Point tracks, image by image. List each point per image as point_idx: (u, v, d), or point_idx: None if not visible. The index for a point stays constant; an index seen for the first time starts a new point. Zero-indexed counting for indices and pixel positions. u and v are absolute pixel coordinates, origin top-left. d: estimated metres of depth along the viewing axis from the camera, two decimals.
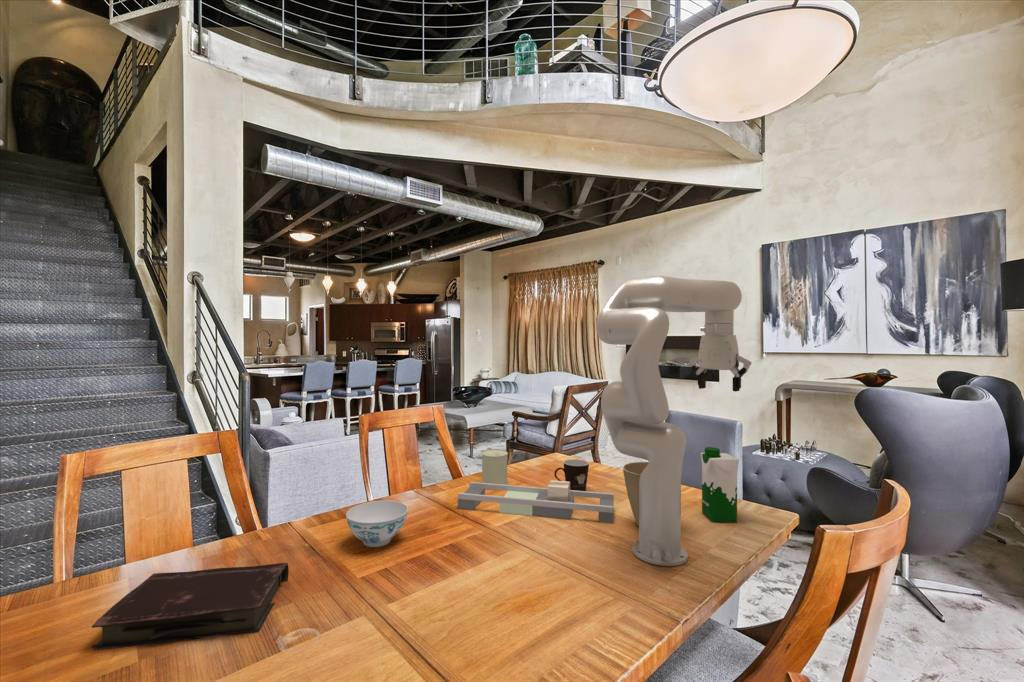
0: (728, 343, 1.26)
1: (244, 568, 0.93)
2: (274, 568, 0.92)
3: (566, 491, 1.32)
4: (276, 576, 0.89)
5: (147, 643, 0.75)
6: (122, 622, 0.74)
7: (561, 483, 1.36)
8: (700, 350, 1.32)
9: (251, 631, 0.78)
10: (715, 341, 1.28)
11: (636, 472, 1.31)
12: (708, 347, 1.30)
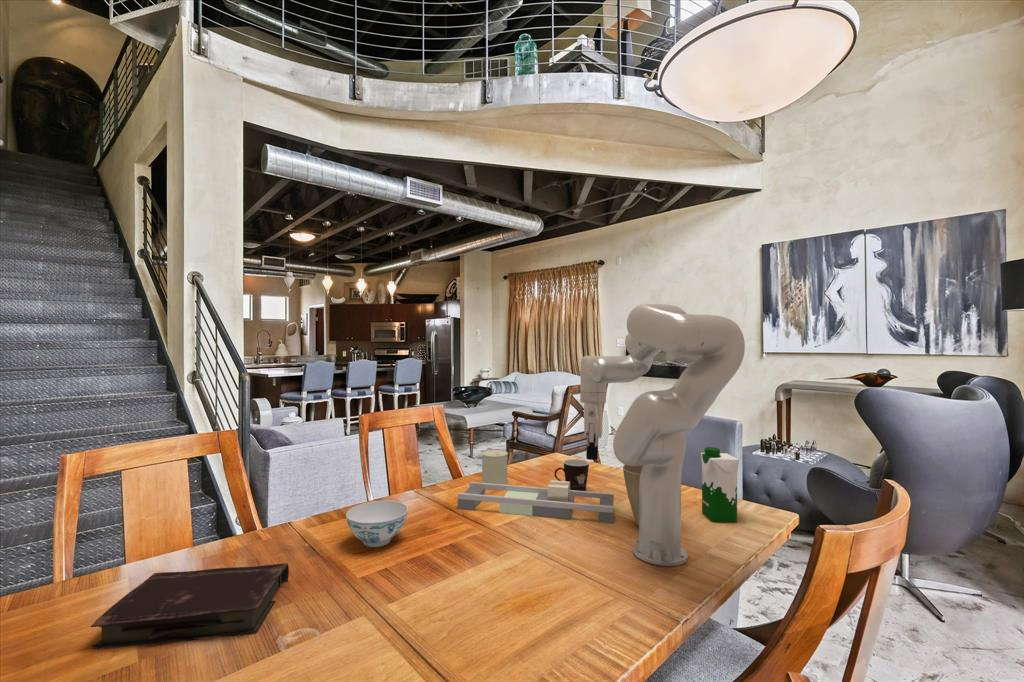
0: None
1: (244, 568, 0.92)
2: (274, 569, 0.92)
3: (566, 491, 1.32)
4: (275, 577, 0.88)
5: (145, 643, 0.75)
6: (121, 622, 0.74)
7: (561, 483, 1.36)
8: (600, 420, 1.29)
9: (249, 632, 0.78)
10: None
11: (636, 472, 1.31)
12: None
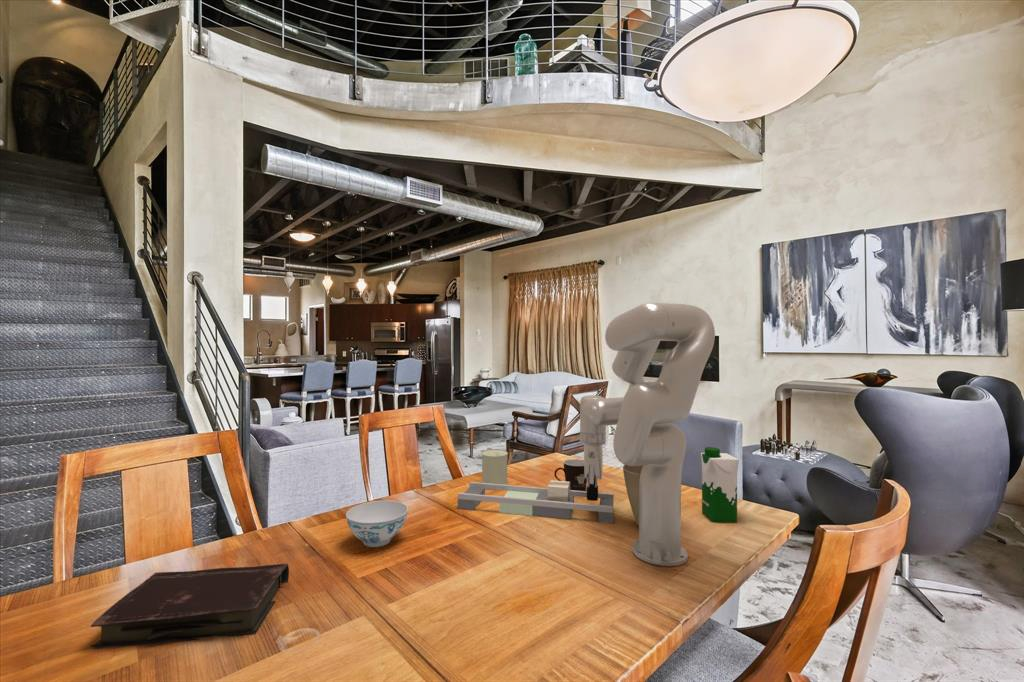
0: None
1: (244, 568, 0.92)
2: (274, 569, 0.92)
3: (566, 491, 1.32)
4: (275, 577, 0.88)
5: (145, 643, 0.75)
6: (120, 622, 0.74)
7: (561, 483, 1.36)
8: (600, 461, 1.29)
9: (248, 633, 0.78)
10: None
11: (636, 472, 1.31)
12: None
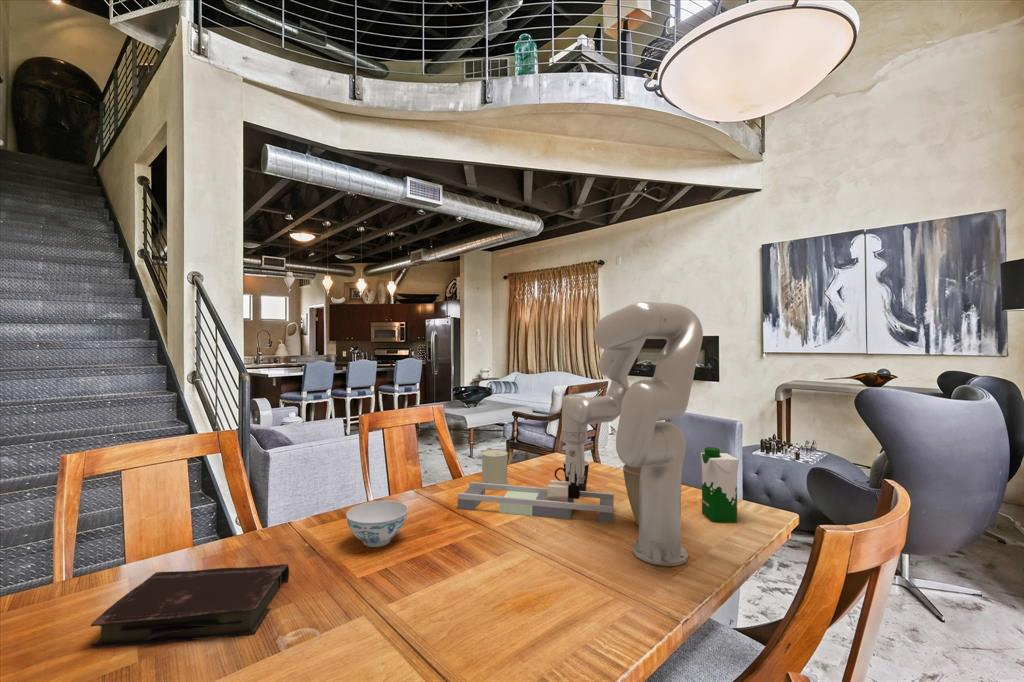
0: None
1: (245, 569, 0.92)
2: (274, 569, 0.92)
3: (566, 491, 1.32)
4: (275, 578, 0.88)
5: (144, 643, 0.75)
6: (120, 621, 0.74)
7: (560, 483, 1.36)
8: (581, 460, 1.30)
9: (247, 634, 0.78)
10: (583, 447, 1.34)
11: (636, 472, 1.31)
12: (583, 455, 1.32)
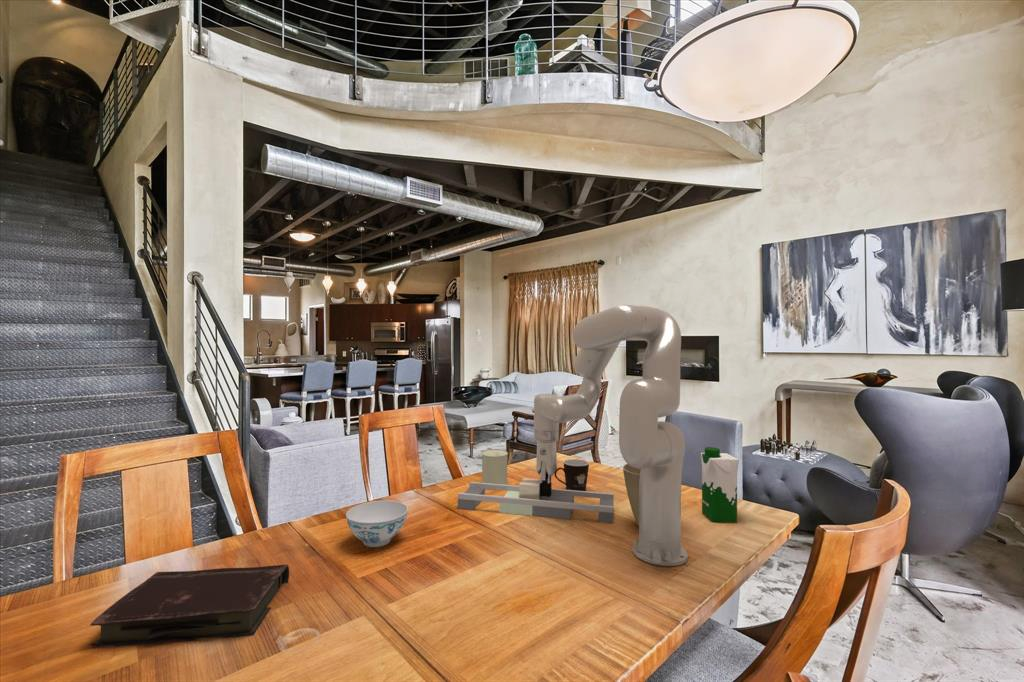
0: None
1: (245, 569, 0.92)
2: (274, 570, 0.92)
3: (537, 489, 1.34)
4: (275, 578, 0.88)
5: (143, 643, 0.75)
6: (119, 621, 0.75)
7: (533, 481, 1.38)
8: (552, 458, 1.32)
9: (246, 634, 0.77)
10: (555, 446, 1.36)
11: (636, 472, 1.31)
12: (554, 453, 1.34)
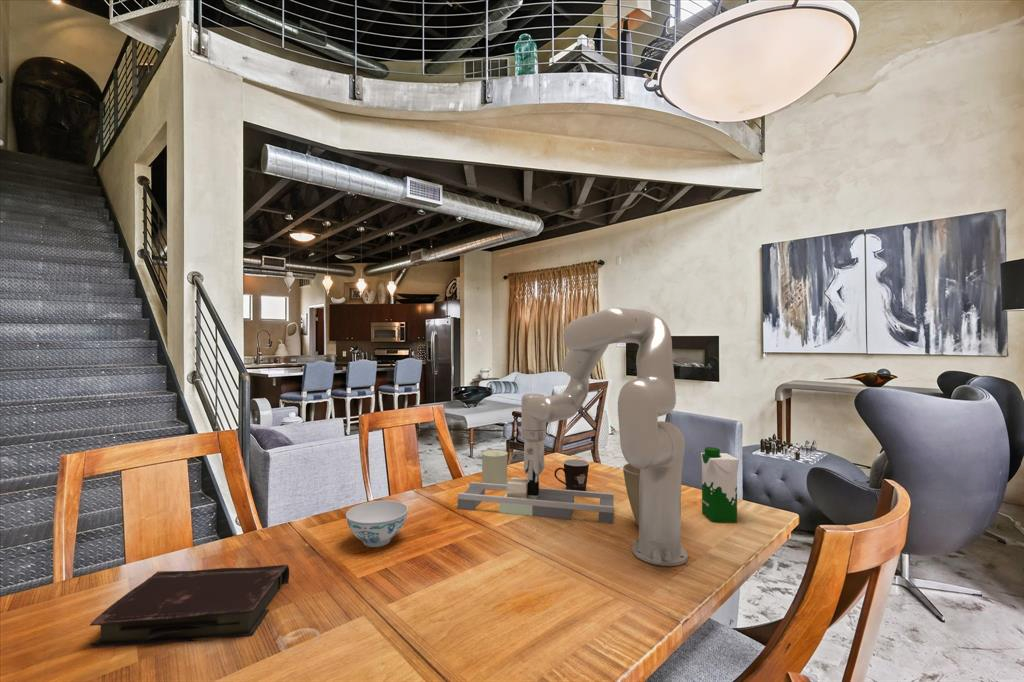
0: (543, 444, 1.40)
1: (245, 569, 0.92)
2: (274, 570, 0.91)
3: (524, 488, 1.35)
4: (274, 579, 0.88)
5: (143, 643, 0.75)
6: (119, 621, 0.75)
7: (520, 480, 1.39)
8: (539, 457, 1.33)
9: (245, 635, 0.77)
10: (542, 445, 1.37)
11: (636, 472, 1.31)
12: (541, 452, 1.35)
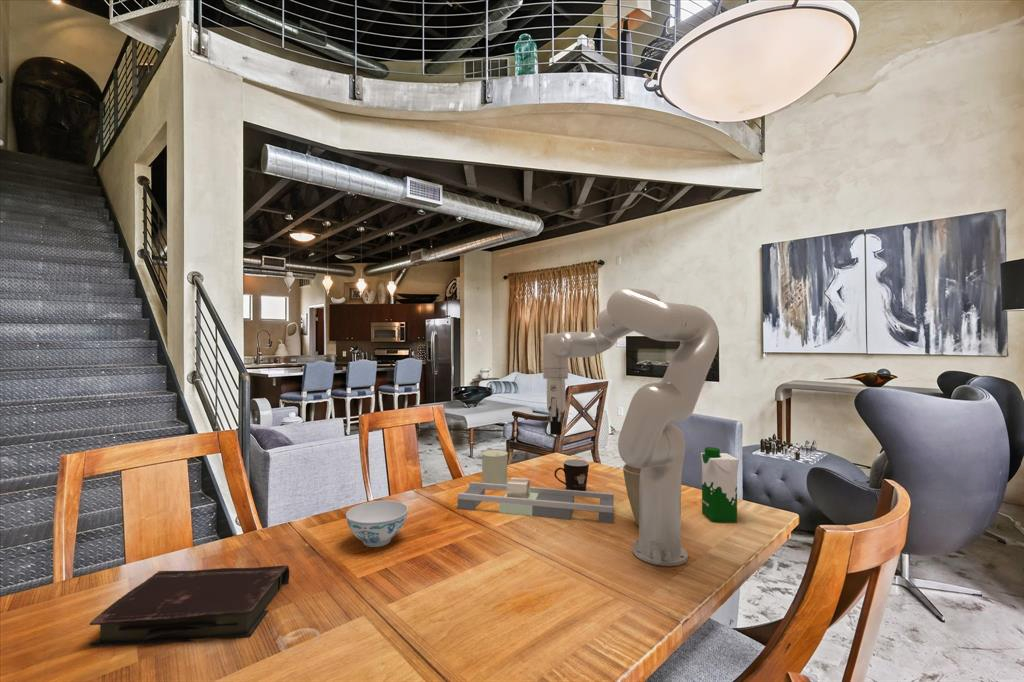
0: None
1: (245, 569, 0.92)
2: (274, 571, 0.91)
3: (524, 488, 1.35)
4: (274, 579, 0.88)
5: (142, 643, 0.75)
6: (118, 621, 0.75)
7: (520, 480, 1.39)
8: (562, 394, 1.32)
9: (243, 636, 0.77)
10: (564, 384, 1.37)
11: (636, 472, 1.31)
12: (564, 390, 1.35)
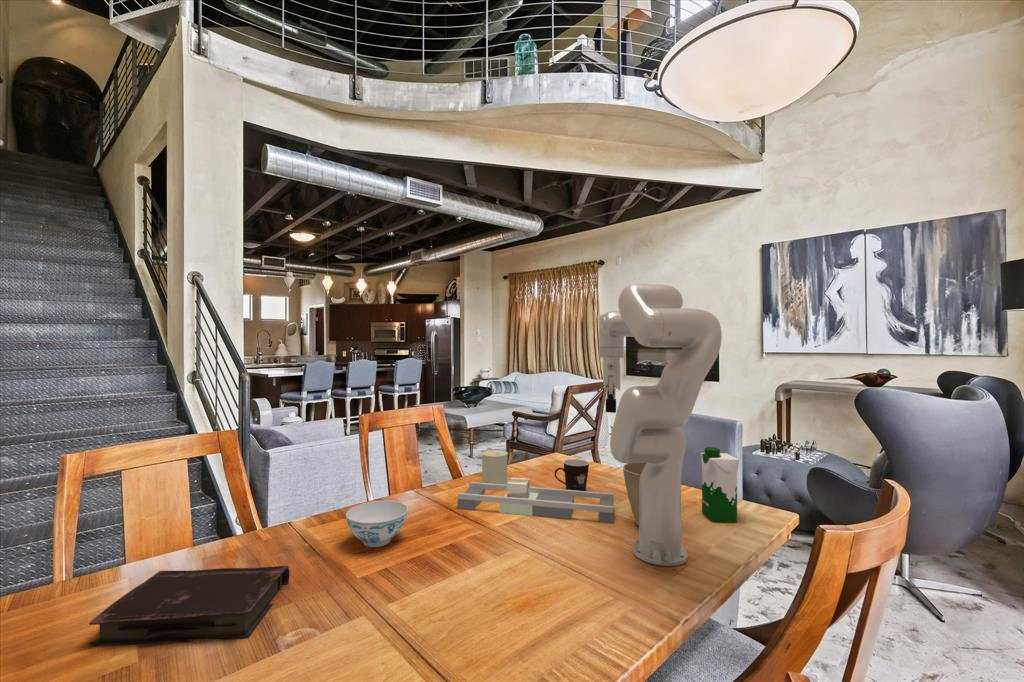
0: None
1: (245, 569, 0.92)
2: (274, 571, 0.91)
3: (524, 488, 1.35)
4: (273, 580, 0.87)
5: (141, 643, 0.75)
6: (117, 621, 0.75)
7: (520, 480, 1.39)
8: (619, 372, 1.35)
9: (241, 637, 0.77)
10: None
11: (636, 472, 1.31)
12: (620, 369, 1.38)
